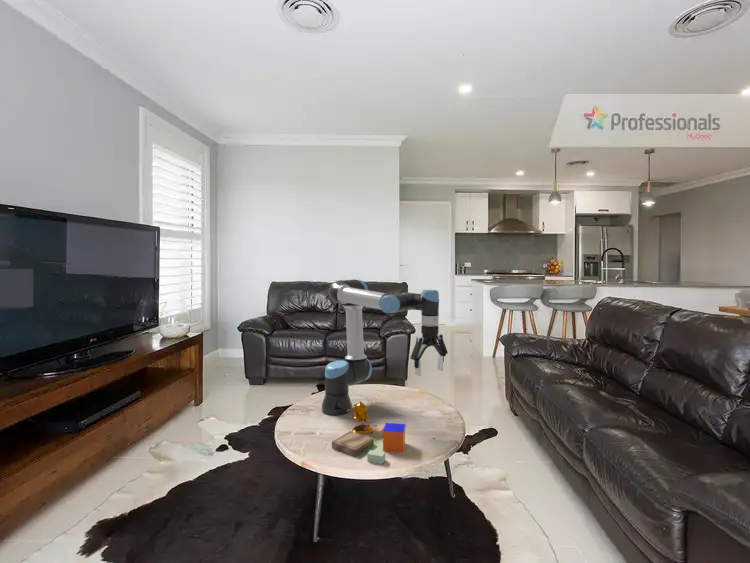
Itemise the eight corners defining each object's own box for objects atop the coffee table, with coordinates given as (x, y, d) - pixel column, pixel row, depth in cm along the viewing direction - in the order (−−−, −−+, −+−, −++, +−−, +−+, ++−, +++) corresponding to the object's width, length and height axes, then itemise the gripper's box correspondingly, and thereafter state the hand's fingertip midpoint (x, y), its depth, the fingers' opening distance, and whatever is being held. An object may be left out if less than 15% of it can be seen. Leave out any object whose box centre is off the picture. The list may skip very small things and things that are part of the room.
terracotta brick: (380, 438, 164) (380, 431, 164) (373, 436, 165) (373, 430, 165) (385, 432, 170) (385, 425, 170) (379, 431, 171) (379, 424, 171)
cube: (405, 443, 160) (405, 424, 159) (403, 452, 152) (403, 432, 151) (385, 441, 161) (385, 422, 161) (383, 450, 153) (383, 431, 153)
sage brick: (367, 461, 145) (367, 453, 145) (370, 457, 148) (370, 450, 148) (382, 464, 143) (382, 456, 143) (385, 460, 146) (385, 452, 146)
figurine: (354, 424, 178) (354, 398, 177) (376, 428, 174) (376, 401, 173) (346, 431, 170) (346, 404, 169) (368, 436, 166) (368, 408, 165)
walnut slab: (331, 447, 155) (331, 441, 155) (350, 436, 165) (350, 430, 165) (355, 456, 149) (355, 449, 148) (373, 444, 158) (373, 437, 158)
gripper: (414, 329, 160) (413, 379, 162) (455, 323, 175) (455, 369, 176) (402, 326, 167) (402, 375, 168) (443, 321, 181) (443, 366, 182)
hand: (429, 372), depth 172 cm, fingers open, 13 cm apart
